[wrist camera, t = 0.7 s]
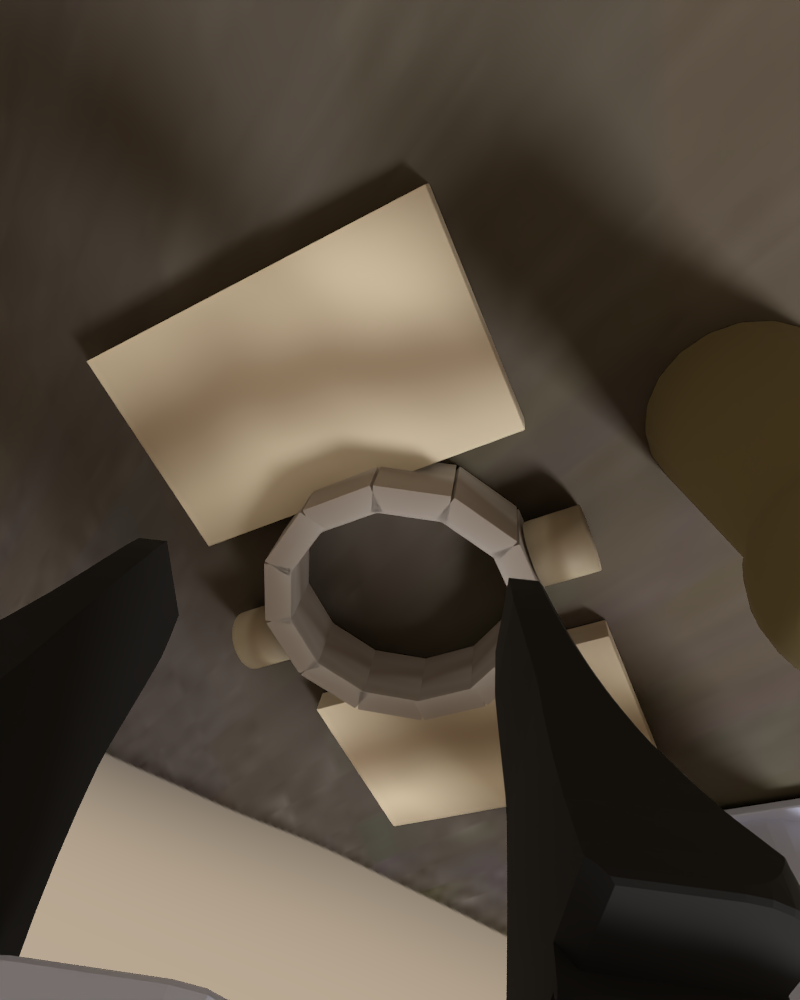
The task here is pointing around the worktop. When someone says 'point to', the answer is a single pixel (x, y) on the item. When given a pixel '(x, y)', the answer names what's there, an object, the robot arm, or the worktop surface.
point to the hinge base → (357, 479)
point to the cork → (741, 457)
